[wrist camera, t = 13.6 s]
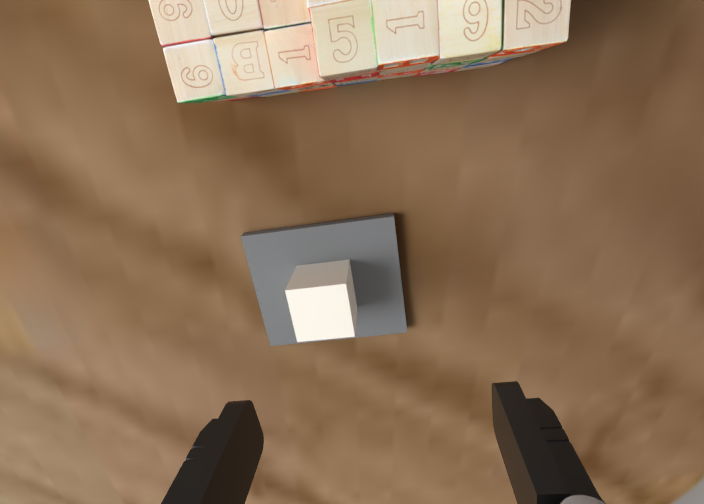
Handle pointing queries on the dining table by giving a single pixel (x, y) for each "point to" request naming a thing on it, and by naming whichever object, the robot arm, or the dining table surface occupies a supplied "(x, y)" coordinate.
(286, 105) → the dining table surface
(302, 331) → the white cube
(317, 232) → the rubber mat
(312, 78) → the stack of blocks
